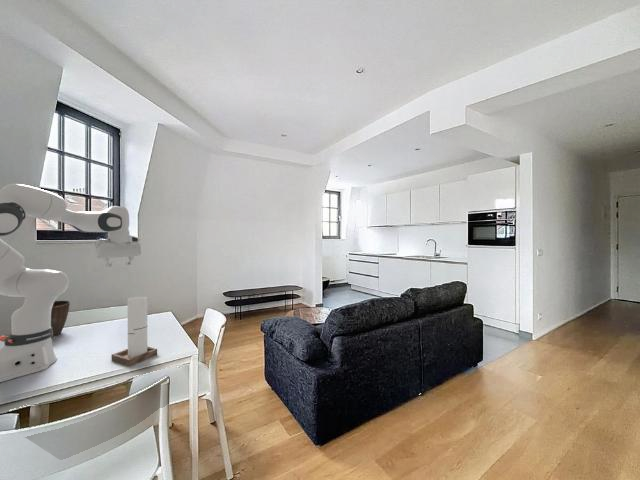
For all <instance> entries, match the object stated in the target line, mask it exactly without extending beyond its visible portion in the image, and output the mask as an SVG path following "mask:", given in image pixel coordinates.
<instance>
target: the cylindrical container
mask: <svg viewBox="0 0 640 480" xmlns="http://www.w3.org/2000/svg"><path fill="white" fill-rule="evenodd" d="M147 346H148V297H147V296H140V295H139V296H133V297H128V298H127V349H128V358H129V359H131V358H134V357H136V356H139V355H141V354H144V353H146V352H147Z"/></svg>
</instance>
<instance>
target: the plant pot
mask: <svg viewBox="0 0 640 480" xmlns="http://www.w3.org/2000/svg"><path fill="white" fill-rule="evenodd" d="M70 304H71V301H69V300H55V302H54V304H53V306H52V310H51V327H52V330H53V337H54V336H58V335H60V334H61V333H62V332H63V331H64V330H63V329H64V327H65V325H66V322H67V318H68V315H69V312H70V311H69V310H70Z"/></svg>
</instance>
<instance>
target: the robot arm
mask: <svg viewBox="0 0 640 480" xmlns="http://www.w3.org/2000/svg"><path fill="white" fill-rule="evenodd" d="M26 217H30V218H34V219H39V220H45V221H56V222H59V223H62V224H65V225H68V226H71V227H72V228H73V229H74V230H76V231H78V232H80V233H107V238H99V239H97V240H96V241H95V244H94V246H95V249H94V257H95V259H103V262H104V263H105V267H106V268H112V263H111V262H109V261H110V258H126V257H127V258H128V261H126V265H125V266H131V265H132V261H134V257H139V256H140V255H141V254H142V247H141V242H140V241H141V240H140V239H141V238H140V237H137V236H134V235H130V230H129V227H130V214H129V210H128V209H127V208H126V207H124V206H118V205H111V206H109V207H108V208H107V209H105V210H102V211H83V210H82V211H73V210H72V209H71V210H70V209H68V205H67V202H66V200H65V199H64V198H63V197H62V196H60V195H58V194H56V193H54V192H51V191H49V190H44V189H41V188H39V187H34V186H30V185H26V184H20V183H9V184H6V185H4V186H3V187H1V189H0V237H2V236H3V237H5V236H8V235H11V234H13V233H15V232H16V231H17V230H18V229H19V228H20V227H21V225H22V224H23V222H24V220H25V219H26ZM25 260H26V259H25V257H24V255H22V253H20V252H19V251H17V250H16V249H15V248H13V247H12V246H11V245H10V244H8V243H7V242H5V241H4V240H3V239H2V238H0V295H1V296H5V297H11V298H13V297H15V298H20V297H21V298H24V302H23V304H22V306H20V307H19V308H18V309H16V310H15V311H13V312H12V314H11V316H10V317H11V318H10V320H11V333H10V334H8V335H1V336H0V342H2V343H4V345H3V346H1V347H0V383H2V382H6V381H9V380H14V379H16V378H19V377H20V378H21V377H23V376H27V375H30V374H31V375H32V374H33V373H34V374H35V373H37V372H41V371H45V370H47V369H48V368H49V366H51V365H53V364H54V363H55V362H56V361H57V356H56V354H55V351H54V346H53V342H52V341H53V337H54V336H53V330H52V327H51V310H52V306H53V304H54V302H55V301H57V299H58V297H59V296H60V295H62V294H64V293H65V292H66V290H67V289H68V287H69V285H70V279H69V277H68V275H67V274H66V273H65V272H64V271H59V270H55V269H34V268H33V269H32V268H28V267H26V266H25V262H26V261H25Z"/></svg>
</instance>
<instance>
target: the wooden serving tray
mask: <svg viewBox="0 0 640 480" xmlns="http://www.w3.org/2000/svg"><path fill="white" fill-rule="evenodd" d="M155 356H158V348H155V347H151V346H148V345H147V352H146V353H144V354H141V355H139V356H136V357H134V358H131V359H129V358H128V348H126V349H123V350H121V351H117V352H114V353H113V354H112V353H111V361H112V362H115V363H118V364H121V365H124V366H127V367H131V366H134V365H136V364H138V363H140V362H143V361H145V360H147V359H151V358H153V357H155Z"/></svg>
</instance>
